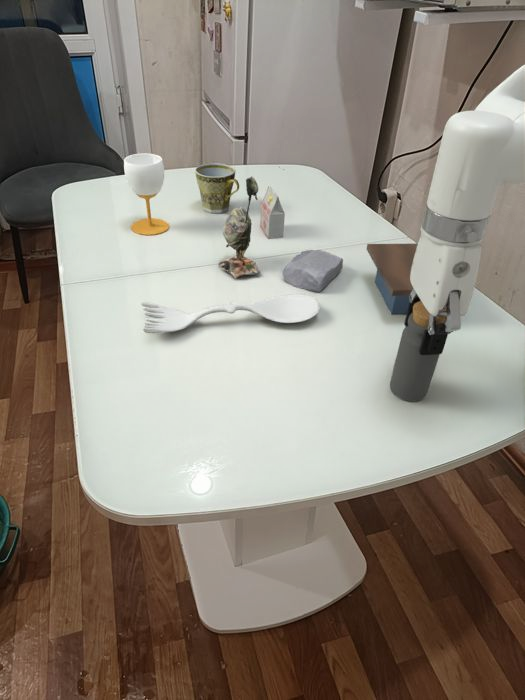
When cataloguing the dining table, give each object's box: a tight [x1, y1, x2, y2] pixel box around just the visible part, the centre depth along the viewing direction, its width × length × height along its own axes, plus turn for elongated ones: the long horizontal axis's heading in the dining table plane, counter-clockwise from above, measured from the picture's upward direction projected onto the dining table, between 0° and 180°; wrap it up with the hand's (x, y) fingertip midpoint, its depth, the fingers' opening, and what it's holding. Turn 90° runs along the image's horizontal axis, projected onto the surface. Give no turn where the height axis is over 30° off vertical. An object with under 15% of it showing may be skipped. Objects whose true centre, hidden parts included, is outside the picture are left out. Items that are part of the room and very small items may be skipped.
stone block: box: [282, 249, 344, 293], centre depth 106 cm, size 12×5×10 cm
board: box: [366, 243, 418, 296], centre depth 98 cm, size 14×18×1 cm
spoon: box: [140, 293, 321, 334], centre depth 92 cm, size 9×32×4 cm, turn 103°
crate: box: [374, 268, 412, 315], centre depth 100 cm, size 10×12×6 cm
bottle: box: [389, 301, 446, 402], centre depth 75 cm, size 6×6×15 cm
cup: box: [123, 152, 170, 236], centre depth 118 cm, size 9×9×16 cm
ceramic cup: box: [194, 163, 240, 214], centre depth 129 cm, size 13×10×10 cm
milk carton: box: [259, 186, 286, 240], centre depth 120 cm, size 4×7×10 cm, turn 17°
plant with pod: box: [218, 175, 261, 279], centre depth 103 cm, size 8×11×20 cm
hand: (422, 338), depth 74 cm, fingers closed on bottle, 5 cm apart
